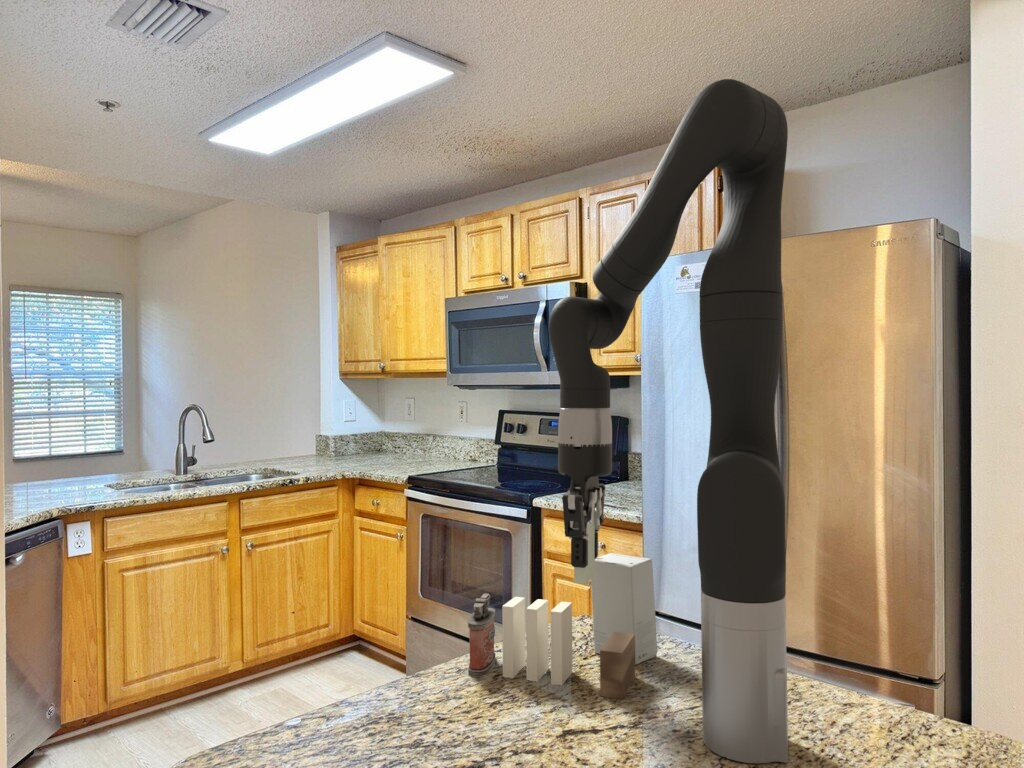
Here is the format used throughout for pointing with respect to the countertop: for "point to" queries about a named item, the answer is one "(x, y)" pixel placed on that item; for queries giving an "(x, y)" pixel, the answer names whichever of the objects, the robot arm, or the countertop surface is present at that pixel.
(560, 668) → the domino
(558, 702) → the countertop surface
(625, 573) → the skincare box
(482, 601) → the lighter
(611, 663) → the block
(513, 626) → the domino
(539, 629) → the domino
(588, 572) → the domino
